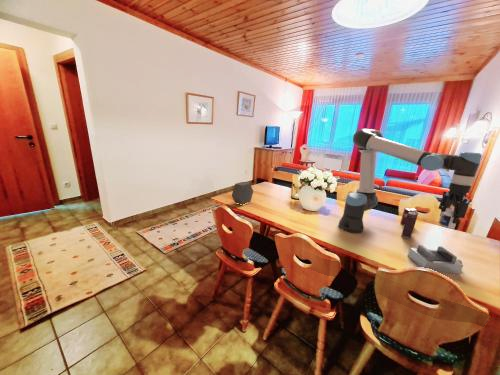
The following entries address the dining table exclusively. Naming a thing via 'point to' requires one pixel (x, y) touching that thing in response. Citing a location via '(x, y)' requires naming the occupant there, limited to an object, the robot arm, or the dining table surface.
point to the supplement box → (409, 224)
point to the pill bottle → (446, 217)
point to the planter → (242, 192)
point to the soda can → (405, 213)
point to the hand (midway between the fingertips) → (446, 225)
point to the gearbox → (436, 259)
